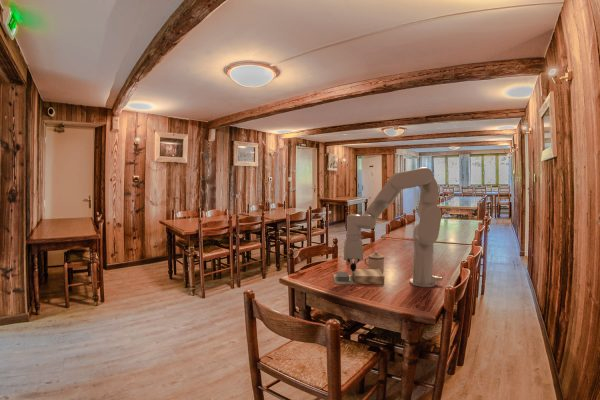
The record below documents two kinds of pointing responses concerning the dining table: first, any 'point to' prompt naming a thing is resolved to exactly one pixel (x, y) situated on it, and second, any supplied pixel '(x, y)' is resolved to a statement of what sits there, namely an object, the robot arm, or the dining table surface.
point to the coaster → (342, 276)
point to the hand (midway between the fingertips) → (353, 270)
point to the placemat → (343, 281)
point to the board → (368, 276)
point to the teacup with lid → (375, 261)
